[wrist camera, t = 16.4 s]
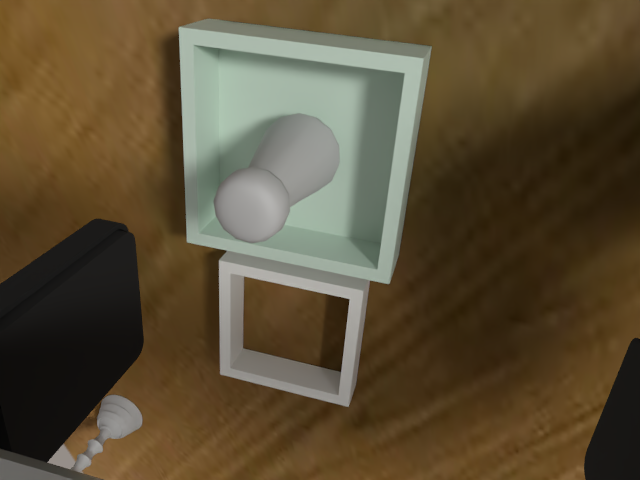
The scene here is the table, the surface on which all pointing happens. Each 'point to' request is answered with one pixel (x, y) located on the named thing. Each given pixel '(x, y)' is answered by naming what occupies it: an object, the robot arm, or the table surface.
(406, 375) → the table surface
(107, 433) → the chalice
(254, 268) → the grey square frame
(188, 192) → the green bin
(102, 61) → the table surface
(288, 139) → the salt shaker
